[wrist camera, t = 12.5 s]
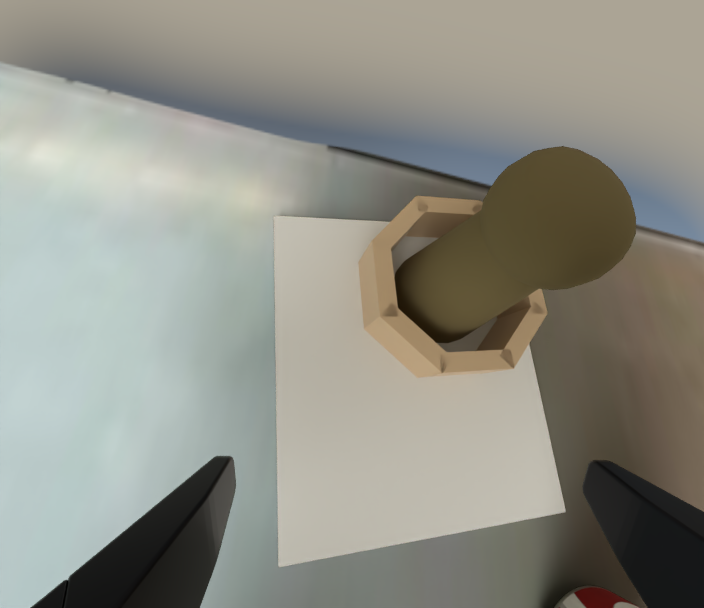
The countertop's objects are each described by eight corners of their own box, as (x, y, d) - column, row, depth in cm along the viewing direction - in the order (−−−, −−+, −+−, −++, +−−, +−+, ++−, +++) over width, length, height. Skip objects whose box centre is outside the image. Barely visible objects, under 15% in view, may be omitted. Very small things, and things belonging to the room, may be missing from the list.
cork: (496, 300, 22) (693, 209, 12) (442, 364, 20) (627, 319, 10) (432, 235, 22) (570, 90, 12) (371, 290, 20) (478, 171, 10)
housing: (554, 508, 20) (616, 530, 16) (278, 559, 16) (280, 603, 12) (496, 232, 25) (534, 204, 21) (273, 222, 21) (274, 184, 17)
